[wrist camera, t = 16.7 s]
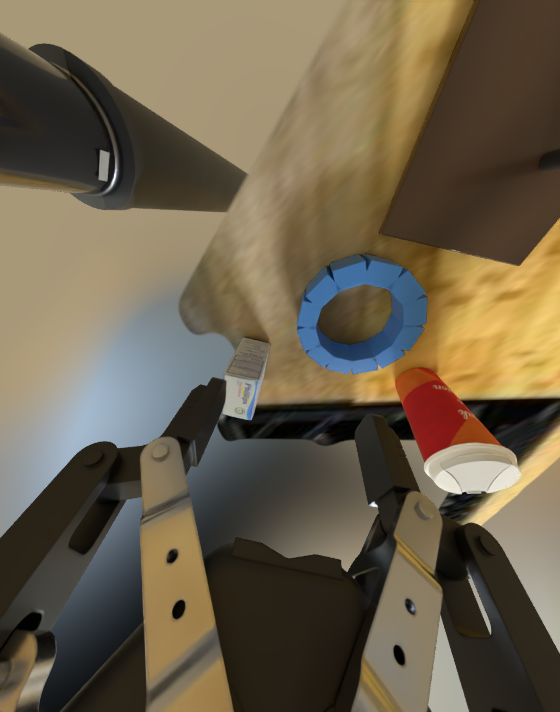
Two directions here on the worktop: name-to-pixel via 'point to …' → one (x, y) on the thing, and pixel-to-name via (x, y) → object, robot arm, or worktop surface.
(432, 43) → the worktop surface
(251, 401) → the medicine box
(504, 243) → the brown peg stand
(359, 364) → the blue notched ring
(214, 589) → the robot arm
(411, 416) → the paper cup
